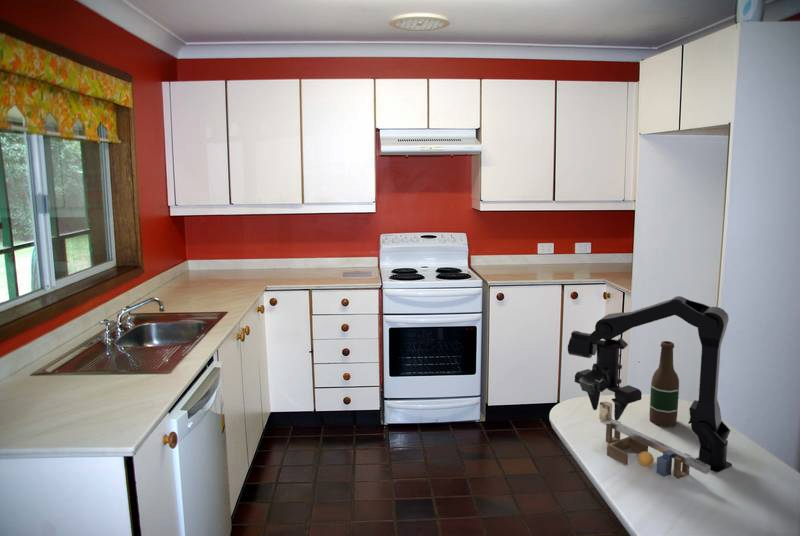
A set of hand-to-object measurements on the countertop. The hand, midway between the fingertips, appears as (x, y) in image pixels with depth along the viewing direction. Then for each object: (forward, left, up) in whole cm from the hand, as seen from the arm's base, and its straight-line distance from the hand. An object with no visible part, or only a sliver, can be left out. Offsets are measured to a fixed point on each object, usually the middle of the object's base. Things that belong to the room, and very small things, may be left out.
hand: (605, 414), depth 162 cm
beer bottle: (-21, +2, -7) cm, 22 cm away
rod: (+2, +14, -6) cm, 16 cm away
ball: (+3, +16, -5) cm, 17 cm away
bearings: (0, +13, -6) cm, 15 cm away
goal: (+3, +11, -6) cm, 13 cm away
